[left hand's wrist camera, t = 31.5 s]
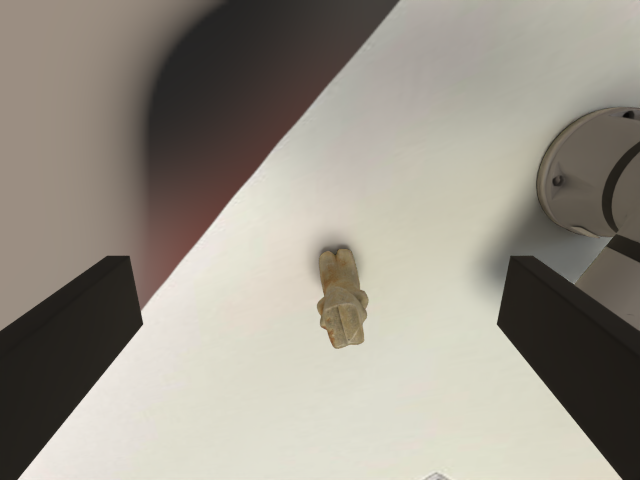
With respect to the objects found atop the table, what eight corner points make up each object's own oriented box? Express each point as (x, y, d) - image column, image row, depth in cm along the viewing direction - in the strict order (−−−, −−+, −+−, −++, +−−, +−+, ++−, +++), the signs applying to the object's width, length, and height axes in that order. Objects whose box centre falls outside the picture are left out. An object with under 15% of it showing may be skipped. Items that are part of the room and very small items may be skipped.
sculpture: (357, 243, 48) (372, 300, 34) (363, 290, 50) (379, 362, 36) (313, 249, 48) (310, 308, 34) (321, 296, 50) (322, 370, 36)
